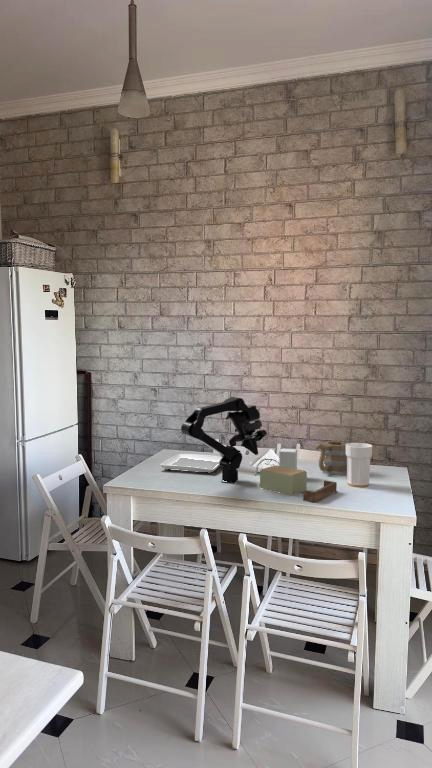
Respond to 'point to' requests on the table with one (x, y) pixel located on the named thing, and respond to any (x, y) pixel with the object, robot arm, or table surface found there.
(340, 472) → the tankard
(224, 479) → the robot arm
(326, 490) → the bracket
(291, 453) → the supplement box
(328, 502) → the table surface
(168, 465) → the square plate
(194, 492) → the table surface
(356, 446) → the cup
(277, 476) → the tea box
